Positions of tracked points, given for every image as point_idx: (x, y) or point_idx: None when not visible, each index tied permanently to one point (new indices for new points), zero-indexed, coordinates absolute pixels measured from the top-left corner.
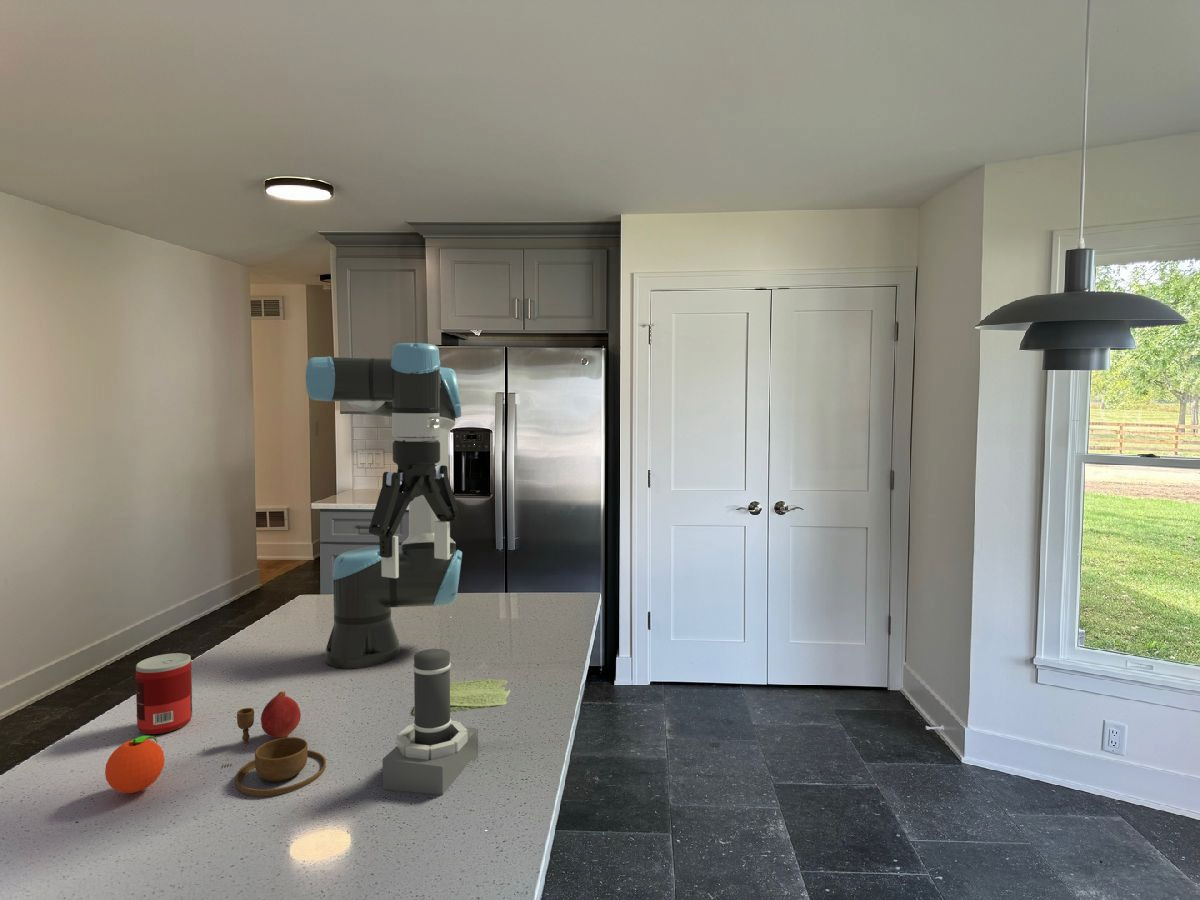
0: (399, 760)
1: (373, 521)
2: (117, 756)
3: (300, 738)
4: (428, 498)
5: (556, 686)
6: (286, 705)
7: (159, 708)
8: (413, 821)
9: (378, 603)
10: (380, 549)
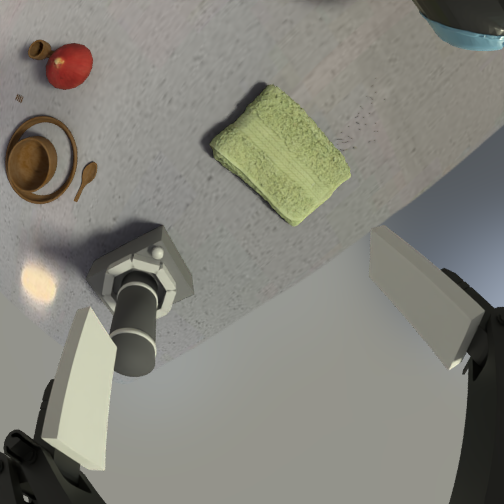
0: (97, 292)
1: (3, 501)
2: None
3: (48, 156)
4: (475, 490)
5: (374, 208)
6: (59, 79)
7: None
8: (97, 308)
9: None
10: (43, 405)
